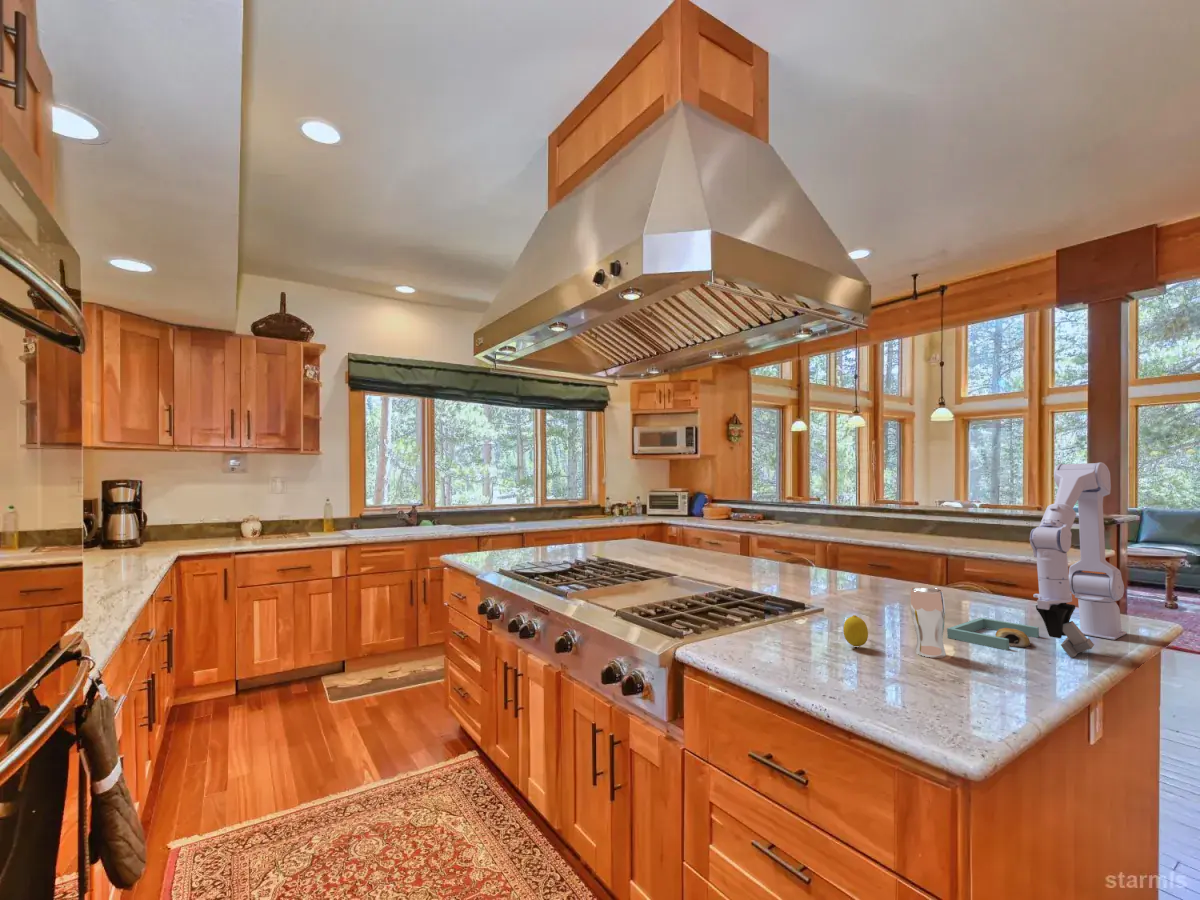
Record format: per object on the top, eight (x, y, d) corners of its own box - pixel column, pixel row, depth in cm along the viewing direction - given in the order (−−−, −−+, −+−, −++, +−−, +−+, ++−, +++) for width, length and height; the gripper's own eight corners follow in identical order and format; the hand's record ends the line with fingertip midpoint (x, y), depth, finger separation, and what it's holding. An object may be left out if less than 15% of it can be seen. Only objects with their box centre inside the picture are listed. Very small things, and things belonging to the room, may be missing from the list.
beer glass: (945, 651, 130) (941, 587, 131) (950, 660, 124) (945, 593, 125) (912, 648, 133) (908, 586, 134) (915, 657, 127) (910, 591, 128)
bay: (981, 626, 151) (980, 617, 151) (1039, 636, 140) (1038, 627, 140) (947, 637, 141) (947, 628, 141) (1007, 650, 130) (1006, 639, 130)
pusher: (1077, 648, 130) (1058, 624, 133) (1096, 641, 128) (1076, 617, 130) (1070, 657, 123) (1050, 632, 126) (1089, 651, 121) (1069, 625, 124)
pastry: (995, 636, 142) (994, 621, 142) (1028, 640, 138) (1027, 625, 138) (995, 645, 134) (994, 629, 135) (1030, 650, 130) (1029, 633, 131)
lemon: (871, 652, 131) (869, 618, 132) (847, 651, 132) (845, 617, 133) (865, 645, 137) (863, 612, 137) (841, 644, 138) (840, 612, 138)
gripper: (1045, 572, 137) (1049, 627, 136) (1020, 579, 129) (1024, 637, 129) (1081, 575, 131) (1085, 633, 130) (1056, 583, 124) (1061, 644, 123)
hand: (1057, 636), depth 129 cm, fingers closed on pusher, 2 cm apart
